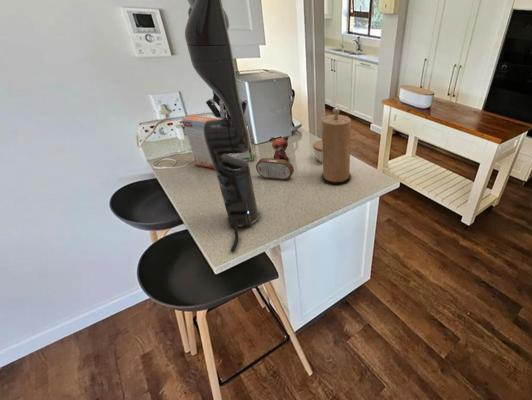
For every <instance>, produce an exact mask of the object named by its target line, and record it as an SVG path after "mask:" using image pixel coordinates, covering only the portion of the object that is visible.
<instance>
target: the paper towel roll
mask: <svg viewBox="0 0 532 400" xmlns="http://www.w3.org/2000/svg"><path fill="white" fill-rule="evenodd" d="M340 111H341V110H340V108H339V107H338V106H337V107H336V106H335V107H333V109H332V112H333V114H329V115H324V116H323V117H321V140H322V154H323V163H322V174H321V180H322V181H323V182H324V183H325V184H328V185H331V186H342V185H346V184H348V183H349V182H350V181H351V173H350V166H351V164H350V163H351V136H352V134H351V132H352V119H351V118H350V117H349V116H346V115H342V114H339V113H340Z"/></svg>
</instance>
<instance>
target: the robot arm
mask: <svg viewBox="0 0 532 400" xmlns="http://www.w3.org/2000/svg"><path fill="white" fill-rule="evenodd" d="M187 3H188V5H189V7H188V10H187V16H188V19H187V21H186V24H185V28H184V29H185V30H184V39H185V43H186V47H187V50H188V54H189V55H188V56H189V59H190V62H191V65H192V67H193V69H194V71H195V73H197V75H198V76H199V77H200V78H201V80H202V81H203V82H204V83H205V84H206V86H208V87H209V89H210V90H211V91H212V94H213V95H212V98H211V99H210V98H209V99H208V100H207V101H205V104H206V105H207V106H208V108H209V110H210V111H211V113H212V114H213V115H214V116H215V117H214V118H218V119H221V120H208V121H206V122H205V124H204V127H203V134H204V139H205V142H206V145H207V148H208V151H209V154H210V157H211V160H212V163H213V166H214V171H215V174H216V178H217V182H218V185H219V186H218V187H219V190H220V192H221V196H222V200H223V203H224V207H225V210H226V214H227V220H228V223H229V226H230V228H234V240H233V241H234V242H233V244H232V246H231V248H230V252H235V251H236V247H237V245H238V243H239V228H251V227H252V225H254V224H255V223H257V221H258V220H259V219H260V213H259V209H258V204H257V200H256V194H255V190H254V185H253V180H252V174H251V169H250V165H249V162H248V161H245V160H243V159H240V158H239V157H236V156H233V154H238V153H245V152H247V151H248V150H249V145H250V142H249V135H250V133H249V134H248V130H247V126H248V125H247V122H246V118H245V113H246V109H247V106H248V100H246V99H245V100H243V99H242V98H241V97H240V91H239V87H238V80H237V74H236V68H235V60H234V55H233V51H232V45H231V39H230V35H229V31H228V30H229V28H230V21H229V20H230V19H229V17H228V15H227V13H226V11H225V8H224V7H223V0H187ZM217 106H218V107H219V108H218V107H217ZM227 113H228V115H229V117H230V119H229V118H228V116H227Z"/></svg>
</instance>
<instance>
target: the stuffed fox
mask: <svg viewBox="0 0 532 400" xmlns="http://www.w3.org/2000/svg"><path fill="white" fill-rule="evenodd" d="M289 139H290V137H289V136H286V137H278V138H276V137H274V136H273V137H272V136H271V137H270V140H271V141H272V144H271V147H272V148H273V149H274V154H273V159H281V158H282V160H286V161H288V162H289V160H290V159H289V157H288V155H287V153H286V150H287V149H288V146H289V142H288V141H289Z"/></svg>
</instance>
